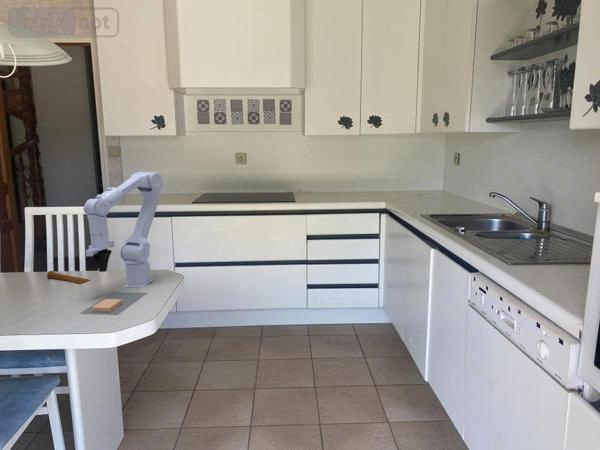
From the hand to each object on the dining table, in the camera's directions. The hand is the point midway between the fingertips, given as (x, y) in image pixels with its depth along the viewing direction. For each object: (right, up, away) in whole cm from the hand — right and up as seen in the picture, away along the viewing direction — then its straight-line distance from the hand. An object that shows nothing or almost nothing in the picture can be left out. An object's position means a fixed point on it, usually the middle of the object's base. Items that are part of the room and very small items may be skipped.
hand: (102, 271), depth 159 cm
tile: (+7, -9, -7) cm, 13 cm away
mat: (+7, -11, -6) cm, 14 cm away
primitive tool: (-24, -6, +23) cm, 33 cm away
